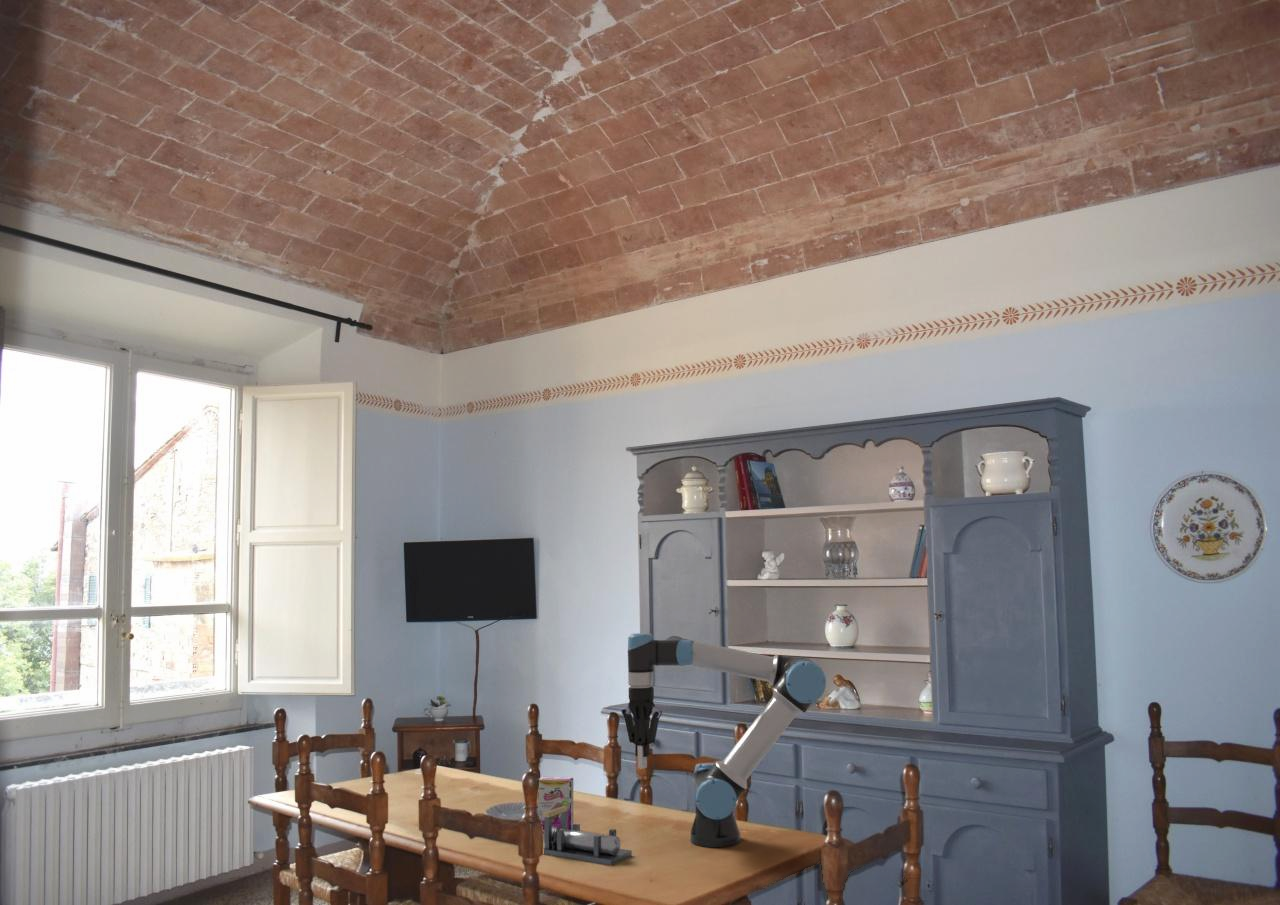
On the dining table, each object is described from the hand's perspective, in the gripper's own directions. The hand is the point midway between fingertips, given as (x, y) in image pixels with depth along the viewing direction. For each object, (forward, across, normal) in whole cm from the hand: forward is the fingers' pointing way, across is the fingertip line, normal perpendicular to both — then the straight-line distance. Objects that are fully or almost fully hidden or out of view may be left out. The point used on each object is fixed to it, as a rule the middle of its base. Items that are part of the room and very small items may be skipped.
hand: (642, 767), depth 299 cm
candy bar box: (+25, +38, -9) cm, 46 cm away
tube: (+23, +16, +10) cm, 29 cm away
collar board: (+24, +14, +9) cm, 30 cm away
